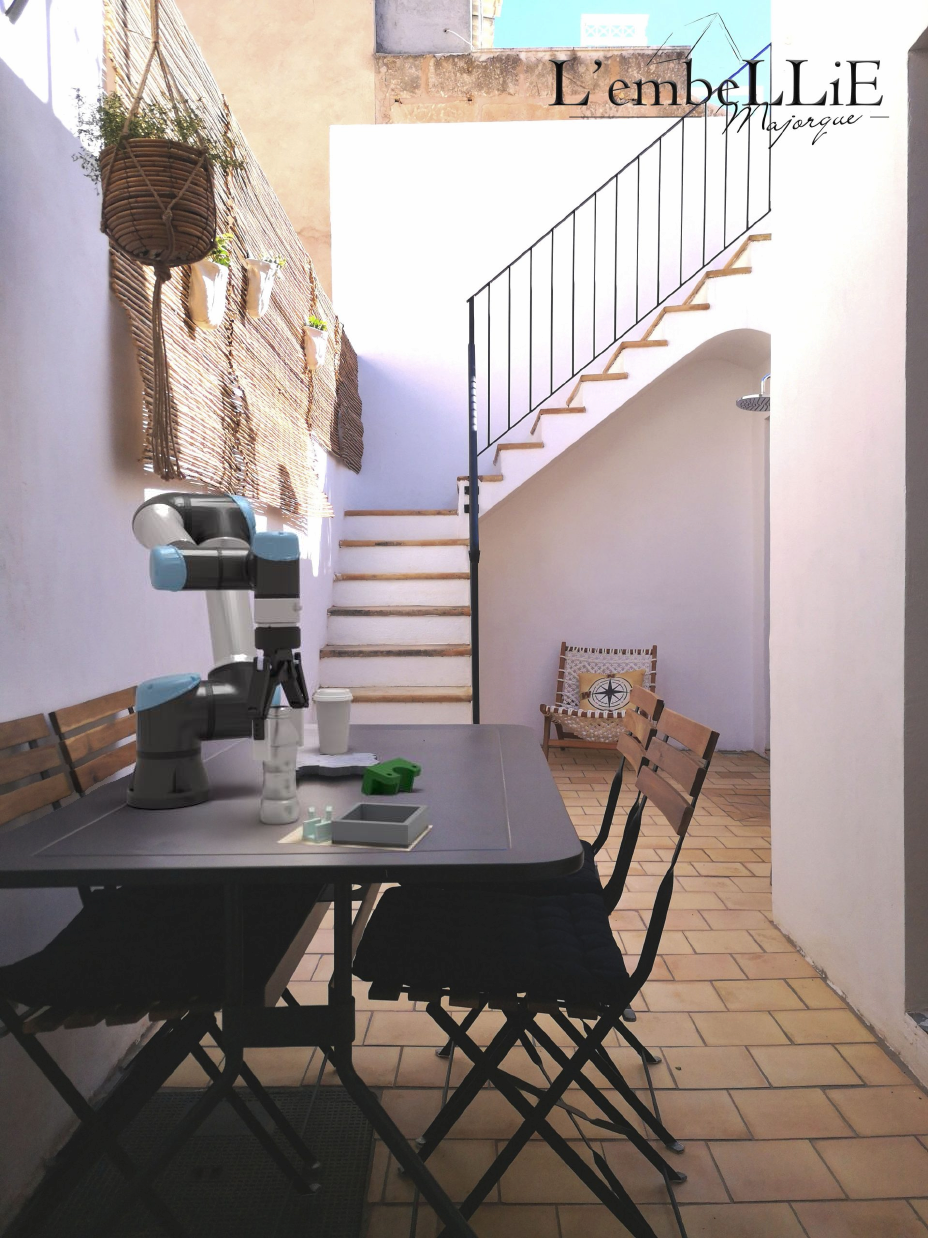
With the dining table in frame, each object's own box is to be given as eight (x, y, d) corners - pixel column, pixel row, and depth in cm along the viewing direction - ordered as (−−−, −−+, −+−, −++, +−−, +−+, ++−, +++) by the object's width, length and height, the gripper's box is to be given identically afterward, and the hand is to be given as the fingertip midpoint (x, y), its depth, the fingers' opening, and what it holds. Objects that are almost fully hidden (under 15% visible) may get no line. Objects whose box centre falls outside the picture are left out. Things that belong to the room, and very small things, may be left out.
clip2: (301, 838, 137) (301, 821, 137) (317, 834, 139) (317, 817, 139) (318, 843, 134) (318, 826, 134) (333, 839, 136) (333, 822, 136)
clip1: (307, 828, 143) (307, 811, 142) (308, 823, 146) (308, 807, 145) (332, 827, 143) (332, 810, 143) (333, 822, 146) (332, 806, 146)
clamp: (387, 821, 167) (384, 783, 163) (363, 809, 170) (359, 772, 166) (424, 786, 176) (423, 750, 172) (400, 776, 179) (398, 739, 175)
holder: (331, 844, 134) (331, 821, 134) (357, 823, 146) (357, 802, 145) (408, 848, 131) (407, 825, 131) (428, 827, 143) (428, 805, 143)
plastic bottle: (282, 818, 153) (280, 703, 152) (308, 825, 148) (306, 706, 148) (251, 826, 148) (249, 707, 147) (277, 833, 143) (276, 710, 143)
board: (276, 849, 135) (276, 842, 135) (311, 825, 148) (311, 819, 148) (409, 857, 130) (409, 850, 130) (432, 831, 144) (432, 825, 144)
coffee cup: (311, 749, 218) (310, 688, 217) (349, 747, 221) (349, 687, 220) (316, 756, 209) (316, 693, 208) (356, 754, 212) (356, 691, 211)
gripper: (266, 627, 134) (268, 767, 134) (326, 622, 158) (328, 741, 159) (220, 627, 135) (223, 766, 136) (287, 623, 160) (289, 740, 160)
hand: (279, 753), depth 147 cm, fingers open, 13 cm apart
